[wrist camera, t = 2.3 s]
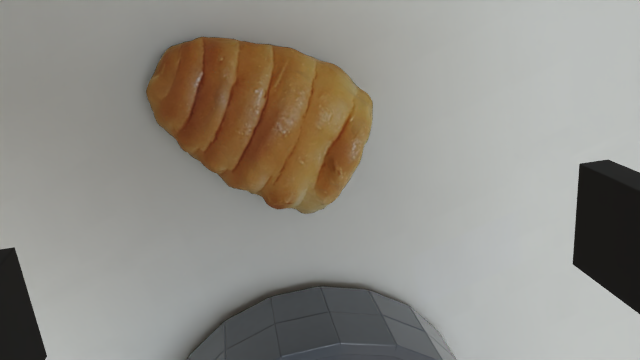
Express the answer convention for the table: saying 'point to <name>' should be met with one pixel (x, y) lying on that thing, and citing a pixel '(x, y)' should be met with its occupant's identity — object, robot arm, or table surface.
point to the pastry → (263, 118)
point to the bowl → (325, 329)
